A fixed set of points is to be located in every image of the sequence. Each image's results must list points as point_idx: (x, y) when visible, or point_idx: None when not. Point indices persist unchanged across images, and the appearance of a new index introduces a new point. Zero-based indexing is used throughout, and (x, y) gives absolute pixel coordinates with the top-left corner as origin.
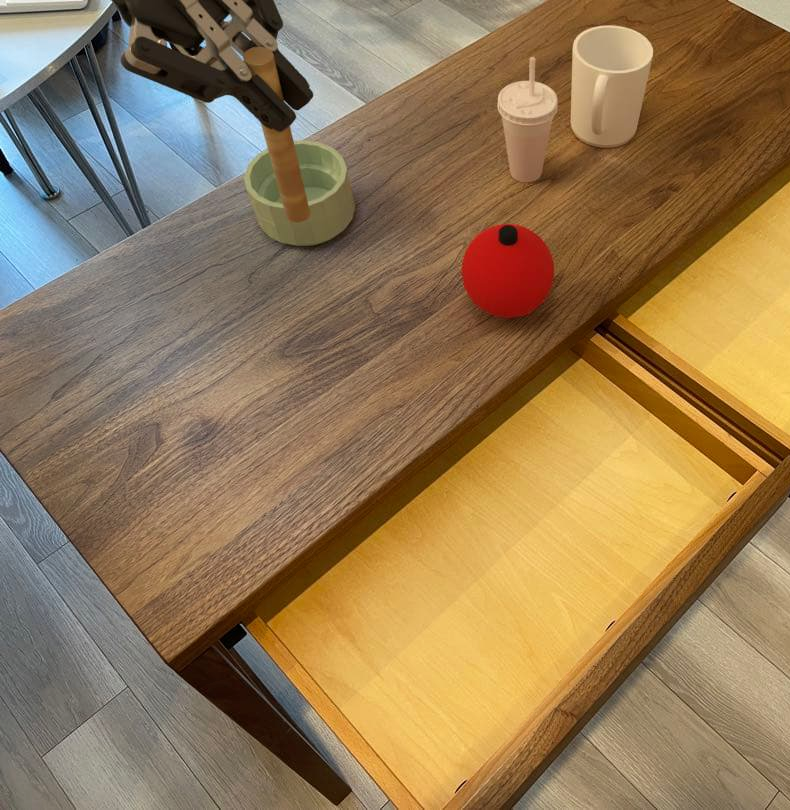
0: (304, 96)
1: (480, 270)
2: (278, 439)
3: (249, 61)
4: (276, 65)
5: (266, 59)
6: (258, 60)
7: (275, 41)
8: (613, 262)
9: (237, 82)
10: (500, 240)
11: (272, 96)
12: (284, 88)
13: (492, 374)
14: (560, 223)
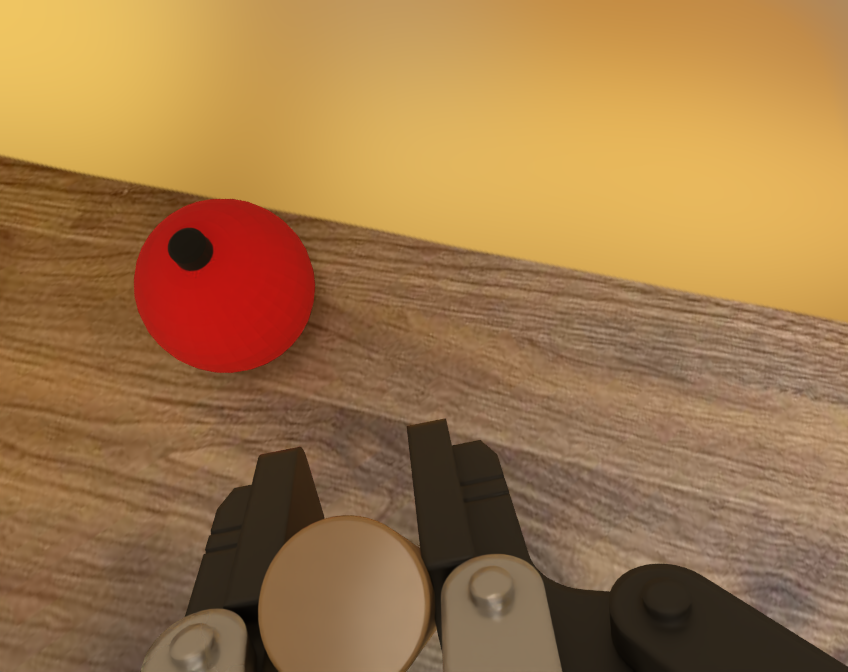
0: (300, 464)
1: (276, 282)
2: (701, 472)
3: (415, 608)
4: None
5: (343, 541)
6: (375, 575)
7: (163, 639)
8: (96, 214)
9: (547, 598)
10: (208, 256)
11: (441, 484)
12: None
13: (399, 256)
14: (44, 332)
